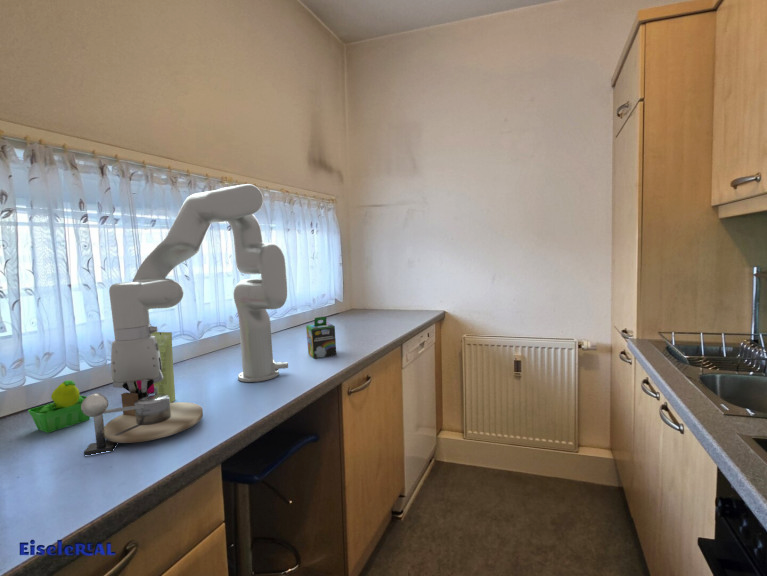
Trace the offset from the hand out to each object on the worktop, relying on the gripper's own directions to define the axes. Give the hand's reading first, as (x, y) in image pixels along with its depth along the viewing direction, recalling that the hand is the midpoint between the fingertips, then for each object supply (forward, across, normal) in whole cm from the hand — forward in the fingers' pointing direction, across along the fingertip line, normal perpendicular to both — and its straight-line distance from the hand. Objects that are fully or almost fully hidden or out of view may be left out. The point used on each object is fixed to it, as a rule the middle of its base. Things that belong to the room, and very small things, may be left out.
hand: (141, 407), depth 103 cm
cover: (0, -4, +8) cm, 9 cm away
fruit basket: (+3, +18, -5) cm, 19 cm away
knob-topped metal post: (+3, +2, +15) cm, 15 cm away
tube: (+4, -3, -12) cm, 13 cm away
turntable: (+2, -4, +8) cm, 9 cm away
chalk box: (+5, -52, -44) cm, 69 cm away
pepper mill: (+4, +4, -25) cm, 26 cm away
